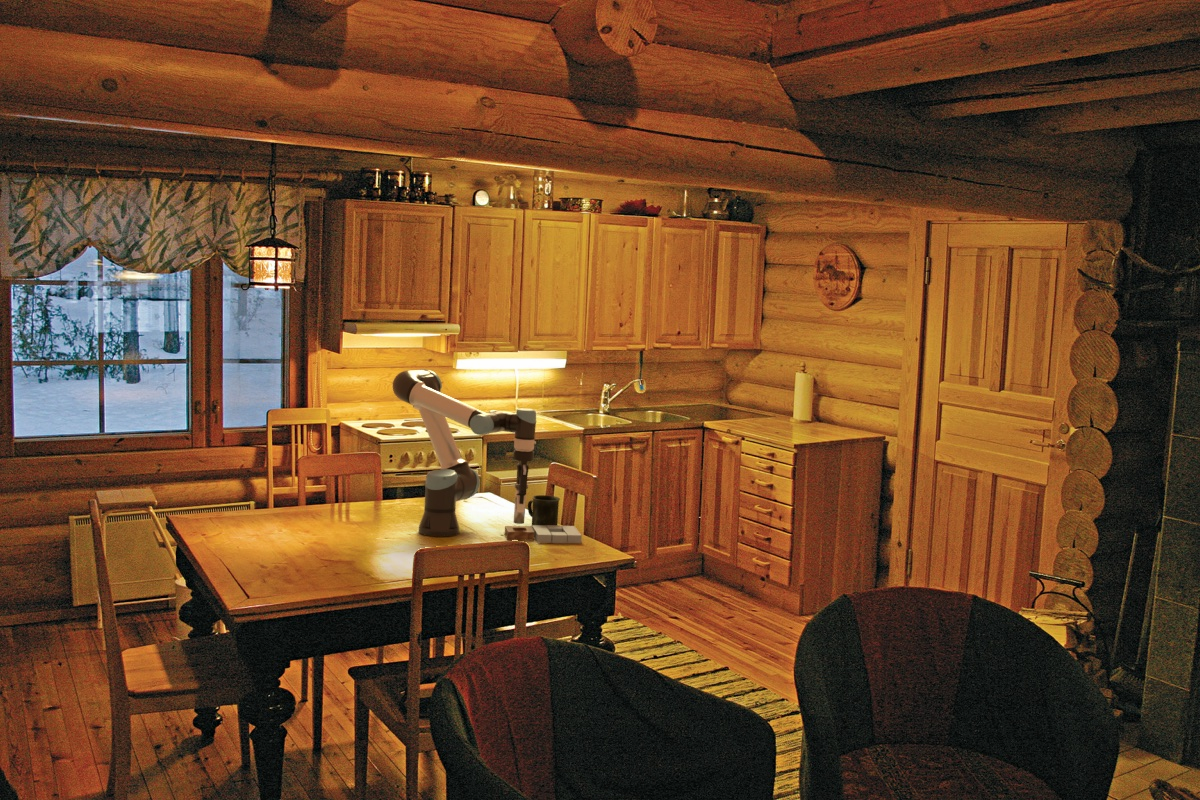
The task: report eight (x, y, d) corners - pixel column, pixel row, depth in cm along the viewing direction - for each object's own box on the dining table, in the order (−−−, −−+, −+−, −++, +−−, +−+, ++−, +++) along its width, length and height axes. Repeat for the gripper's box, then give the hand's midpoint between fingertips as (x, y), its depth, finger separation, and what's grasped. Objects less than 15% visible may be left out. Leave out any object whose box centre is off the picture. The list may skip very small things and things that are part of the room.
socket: (537, 542, 397) (537, 534, 397) (531, 532, 413) (531, 525, 413) (581, 543, 400) (581, 535, 400) (573, 533, 417) (574, 525, 416)
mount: (507, 539, 399) (508, 531, 399) (504, 533, 409) (505, 525, 409) (534, 540, 401) (534, 532, 401) (530, 534, 411) (531, 526, 411)
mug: (546, 532, 416) (547, 501, 415) (518, 525, 425) (520, 495, 424) (563, 528, 424) (565, 498, 423) (536, 521, 433) (538, 492, 432)
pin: (512, 523, 402) (515, 485, 400) (511, 520, 407) (514, 483, 405) (526, 524, 403) (528, 486, 401) (524, 521, 408) (527, 483, 406)
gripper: (536, 453, 394) (532, 516, 397) (530, 446, 411) (526, 506, 413) (516, 453, 393) (512, 515, 395) (511, 445, 409) (507, 505, 412)
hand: (519, 510), depth 404 cm, fingers closed on pin, 4 cm apart
